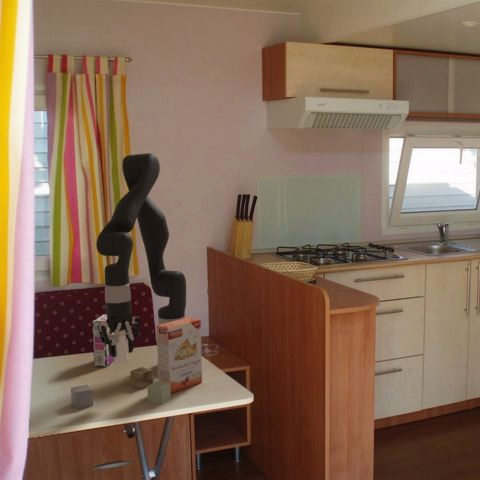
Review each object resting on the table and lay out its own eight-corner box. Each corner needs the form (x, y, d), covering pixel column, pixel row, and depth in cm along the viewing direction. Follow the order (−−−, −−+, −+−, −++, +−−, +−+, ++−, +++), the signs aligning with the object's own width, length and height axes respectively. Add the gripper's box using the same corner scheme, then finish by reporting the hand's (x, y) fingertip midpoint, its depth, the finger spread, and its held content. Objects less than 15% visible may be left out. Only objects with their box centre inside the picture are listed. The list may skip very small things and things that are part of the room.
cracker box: (170, 394, 204) (168, 327, 201) (158, 390, 208) (155, 324, 205) (203, 382, 214) (201, 318, 211) (190, 378, 218) (188, 316, 215)
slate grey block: (88, 400, 201) (87, 384, 200) (92, 405, 196) (91, 389, 196) (71, 403, 198) (70, 387, 198) (75, 409, 194) (74, 392, 193)
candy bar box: (107, 367, 232) (105, 321, 230) (93, 367, 233) (91, 321, 231) (117, 357, 243) (115, 314, 241) (104, 357, 244) (102, 313, 242)
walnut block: (142, 381, 216) (141, 367, 216) (153, 384, 213) (152, 369, 213) (131, 386, 212) (130, 371, 212) (142, 389, 209) (141, 374, 209)
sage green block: (156, 396, 202) (155, 380, 202) (170, 398, 200) (170, 382, 200) (148, 402, 198) (147, 386, 197) (162, 404, 196) (162, 388, 195)
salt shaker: (114, 362, 198) (112, 331, 196) (116, 358, 202) (114, 328, 200) (127, 362, 198) (125, 331, 196) (129, 358, 202) (127, 327, 200)
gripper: (131, 293, 205) (134, 346, 207) (90, 301, 195) (93, 357, 197) (145, 296, 199) (148, 351, 201) (103, 305, 190) (107, 362, 192)
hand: (121, 354), depth 199 cm, fingers closed on salt shaker, 5 cm apart
